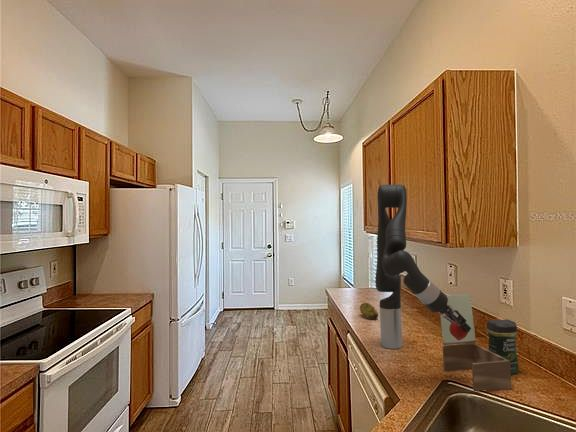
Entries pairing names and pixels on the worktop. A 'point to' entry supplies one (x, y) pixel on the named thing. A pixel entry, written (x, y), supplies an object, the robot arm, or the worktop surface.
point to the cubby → (479, 366)
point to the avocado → (368, 311)
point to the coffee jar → (504, 341)
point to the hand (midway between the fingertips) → (463, 327)
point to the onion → (457, 331)
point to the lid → (465, 309)
